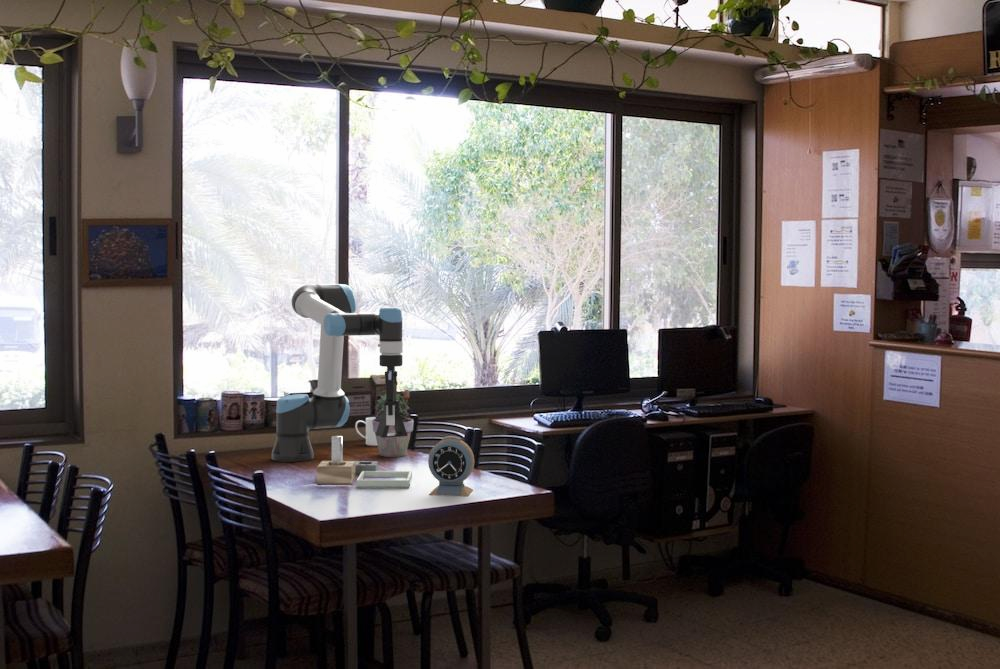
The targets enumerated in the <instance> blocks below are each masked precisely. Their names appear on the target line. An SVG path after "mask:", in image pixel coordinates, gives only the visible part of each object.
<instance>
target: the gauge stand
mask: <svg viewBox="0 0 1000 669" xmlns="http://www.w3.org/2000/svg"><path fill="white" fill-rule="evenodd" d="M354 461H355V476H358V475H360V474H361V472H362V471H379V460H368V461H367V460H366V461H365V460H361V461H360V460H354Z"/></svg>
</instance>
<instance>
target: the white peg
mask: <svg viewBox="0 0 1000 669" xmlns="http://www.w3.org/2000/svg"><path fill="white" fill-rule="evenodd" d="M343 439H344V438H343V436H342V435H332V436H331V461H332V465H343V461H344V458H343V457H344V456H343V450H344V448H343V446H344V444H343Z"/></svg>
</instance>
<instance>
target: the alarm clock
mask: <svg viewBox="0 0 1000 669" xmlns="http://www.w3.org/2000/svg"><path fill="white" fill-rule="evenodd" d="M428 454H429V455H428V459H427V460H428V461H427V464H428V468H429V471H430V473H431V474H432V476H433V477H434V478H435V479H436V480H437V481H438V482H439V483H438V486H436V487H435V488H434V489H432V491H431V492H430V493H429V494H428V496H441V497H442V495H443V496H444V497H445V496H447V497H449V496H450V497H469V496H470V493H471V494H472V492H473V491H474V489H473V488H471V487H469V486H466V485H465V483H464V481H466V480H467V478H469V476H470V475H471V474H472V472H473V470H474V468H475V455H474V453H473V450H472V448H471V447H470V446H469V445H468V443H466V442H465V441H464V440H462V439H461V437H458V436H455V435H448V436H445V437H443V438H441V440H439V442H437V443H436V444H434V445H433V447H432V448H431V450H430V452H429V453H428Z"/></svg>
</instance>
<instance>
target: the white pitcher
mask: <svg viewBox="0 0 1000 669" xmlns="http://www.w3.org/2000/svg"><path fill="white" fill-rule="evenodd" d="M373 419H376V418H375V417H371V416H368V417H365V420H362V419H361V420H360V419H359V420H357V421H356V422H355V425H354V427H355V430H356V433H357V434H358V435H360V437H362V438H363V439H365V444H366V445H367V446H370V447H371V446H373V447H374V446H375V447H378V444H377V440H376V435H375V432H374V431H373V424H372V420H373ZM359 423H363V424H365V435H363V434H362V433H361V432H360V431H359V429H358V424H359Z"/></svg>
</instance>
